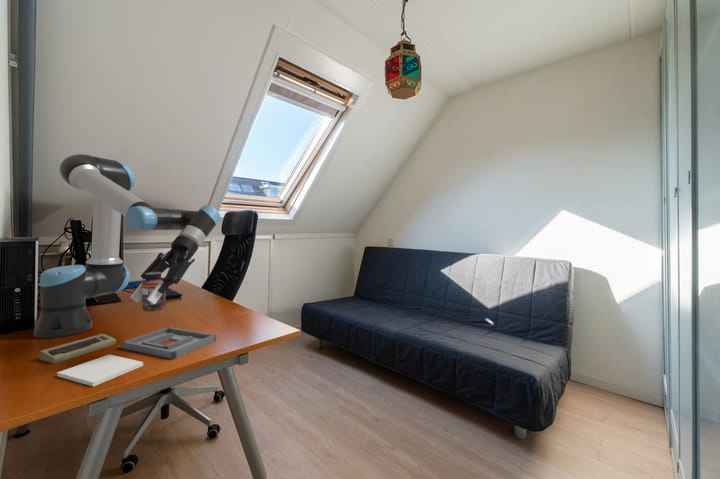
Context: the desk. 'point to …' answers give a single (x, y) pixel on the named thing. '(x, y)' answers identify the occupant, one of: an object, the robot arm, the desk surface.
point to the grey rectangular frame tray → (183, 344)
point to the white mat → (100, 370)
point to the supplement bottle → (147, 289)
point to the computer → (76, 348)
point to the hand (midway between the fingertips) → (142, 300)
